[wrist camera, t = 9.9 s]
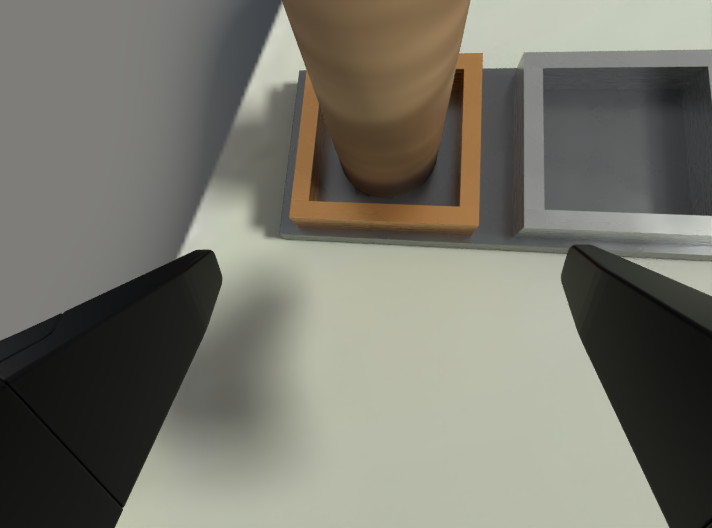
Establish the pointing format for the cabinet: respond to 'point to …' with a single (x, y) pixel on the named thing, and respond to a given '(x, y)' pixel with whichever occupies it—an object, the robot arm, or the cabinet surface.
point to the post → (381, 82)
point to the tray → (535, 161)
